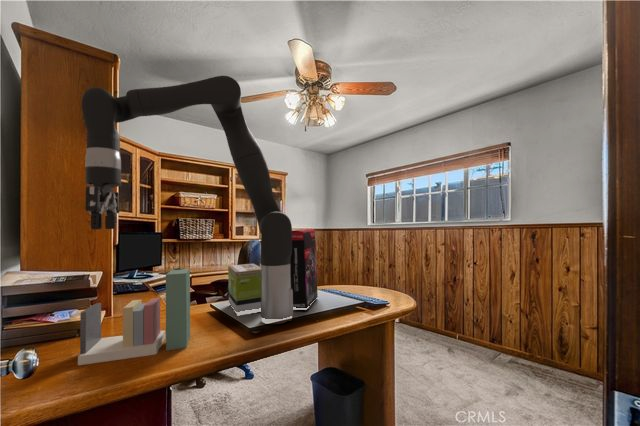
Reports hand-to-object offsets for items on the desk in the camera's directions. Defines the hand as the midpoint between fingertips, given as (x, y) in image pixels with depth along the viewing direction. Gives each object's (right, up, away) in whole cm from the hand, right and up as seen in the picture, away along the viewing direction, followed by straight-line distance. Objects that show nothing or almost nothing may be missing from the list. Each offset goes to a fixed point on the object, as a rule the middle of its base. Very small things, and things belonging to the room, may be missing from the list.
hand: (104, 229), depth 75 cm
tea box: (+31, -30, +26) cm, 50 cm away
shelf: (+10, -29, -6) cm, 31 cm away
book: (+21, -29, -3) cm, 36 cm away
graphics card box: (+51, -29, +29) cm, 65 cm away
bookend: (+3, -27, -8) cm, 28 cm away
